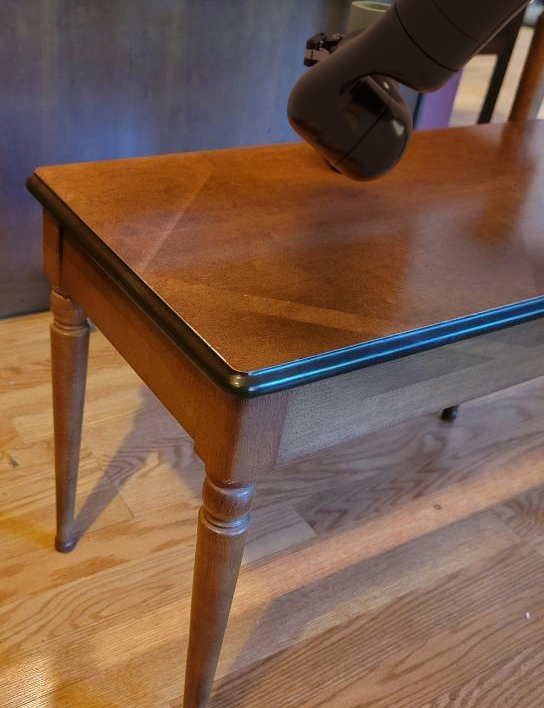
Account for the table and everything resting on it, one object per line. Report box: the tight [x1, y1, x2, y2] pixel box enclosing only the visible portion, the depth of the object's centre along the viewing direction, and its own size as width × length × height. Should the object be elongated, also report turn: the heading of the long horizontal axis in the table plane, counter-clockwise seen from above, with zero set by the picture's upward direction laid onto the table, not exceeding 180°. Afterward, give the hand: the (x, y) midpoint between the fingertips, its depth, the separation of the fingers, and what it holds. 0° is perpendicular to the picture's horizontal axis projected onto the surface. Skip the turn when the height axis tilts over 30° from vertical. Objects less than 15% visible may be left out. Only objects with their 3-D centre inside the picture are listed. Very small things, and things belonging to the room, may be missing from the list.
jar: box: [346, 0, 391, 35], centre depth 87 cm, size 6×6×11 cm
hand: (371, 45), depth 88 cm, fingers closed on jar, 6 cm apart
